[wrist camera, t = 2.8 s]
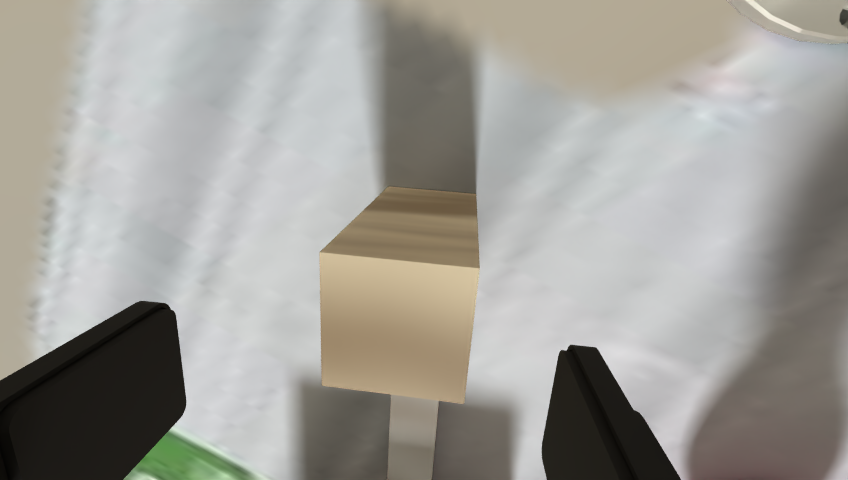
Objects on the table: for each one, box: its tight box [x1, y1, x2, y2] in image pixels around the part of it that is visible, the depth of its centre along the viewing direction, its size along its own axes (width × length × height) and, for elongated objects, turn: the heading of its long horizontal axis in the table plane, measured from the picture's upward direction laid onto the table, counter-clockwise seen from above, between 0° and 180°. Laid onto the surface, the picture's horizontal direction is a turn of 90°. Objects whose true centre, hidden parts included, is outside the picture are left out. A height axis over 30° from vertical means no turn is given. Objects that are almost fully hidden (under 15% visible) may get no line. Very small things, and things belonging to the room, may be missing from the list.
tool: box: [320, 186, 480, 480], centre depth 17 cm, size 17×4×9 cm, turn 177°
